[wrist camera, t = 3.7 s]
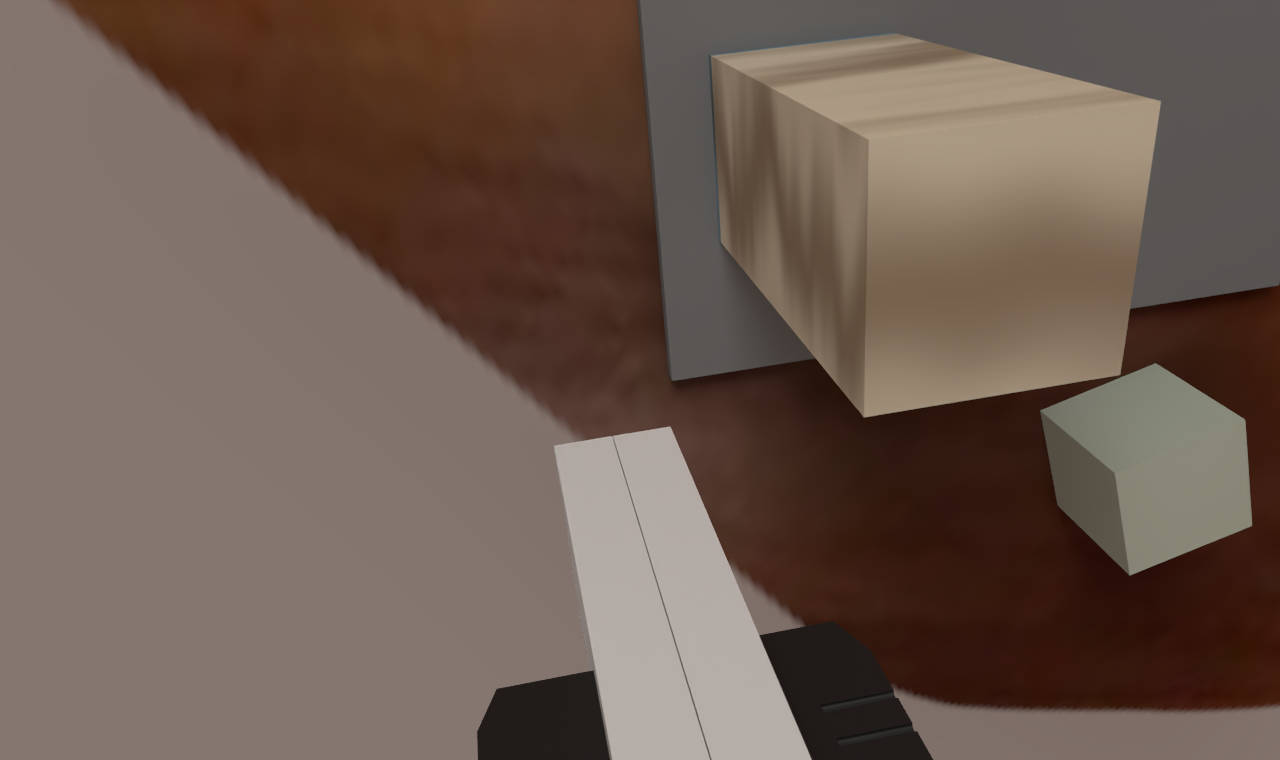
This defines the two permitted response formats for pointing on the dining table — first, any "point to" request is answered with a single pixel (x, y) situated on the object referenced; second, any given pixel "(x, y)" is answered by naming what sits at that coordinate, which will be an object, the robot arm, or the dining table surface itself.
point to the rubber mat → (1009, 31)
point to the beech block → (933, 213)
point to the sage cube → (1149, 467)
